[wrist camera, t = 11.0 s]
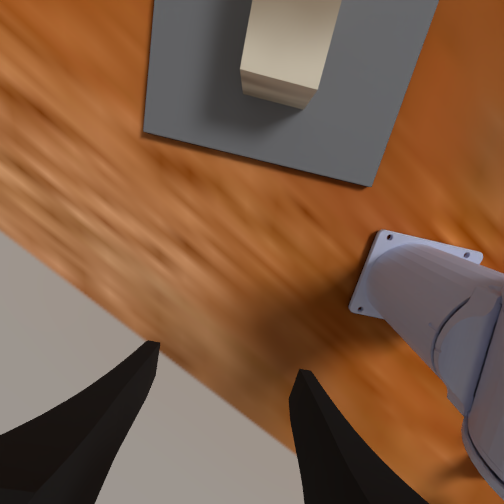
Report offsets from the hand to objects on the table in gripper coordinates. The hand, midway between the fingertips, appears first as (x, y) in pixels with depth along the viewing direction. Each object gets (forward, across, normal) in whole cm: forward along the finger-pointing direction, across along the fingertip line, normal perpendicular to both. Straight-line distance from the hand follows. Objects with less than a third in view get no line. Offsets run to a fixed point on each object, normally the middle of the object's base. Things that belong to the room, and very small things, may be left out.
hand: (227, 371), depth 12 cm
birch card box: (+10, +1, -19) cm, 21 cm away
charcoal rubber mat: (+10, +1, -19) cm, 22 cm away
